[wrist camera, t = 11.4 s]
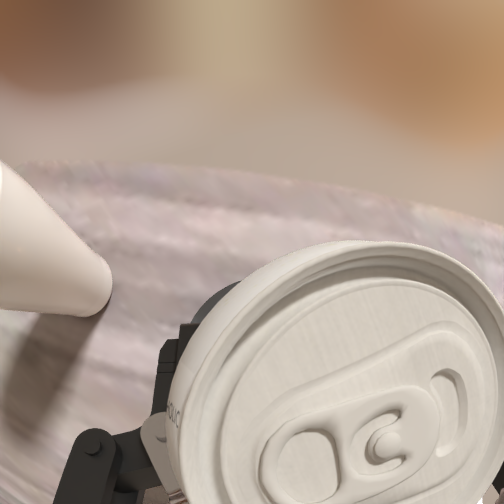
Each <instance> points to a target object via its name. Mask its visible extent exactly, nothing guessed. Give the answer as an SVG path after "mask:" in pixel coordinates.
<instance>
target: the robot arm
mask: <svg viewBox="0 0 504 504" xmlns="http://www.w3.org/2000/svg"><path fill="white" fill-rule="evenodd" d="M200 324H201V323H190V324H181V325H180V332H179V339H167V341H166V342H165V344H164V345H163V347H162V348H161V350H160V353H159V360H158V367H157V375H156V381H155V388H154V396H153V404H152V411H151V415H150V417H149V418H148V419H146V420H145V422H144V423H143V425H142V426H141V427H139V428H138V429H136V430H133V431H130V432H126V433H122V434H117V435H113V436H111V435H110V434H109V433H108V432H107V431H105V430H102V429H98V428H93V429H88V430H86V431H84V432H82V433H81V434H80V435H79V436H78V437H77V438H76V440H75V442H74V444H73V447H72V450H71V452H70V455H69V458H68V460H67V463H66V466H65V469H64V471H63V474H62V477H61V480H60V483H59V486H58V489H57V492H56V495H55V498H54V501H53V504H142V502H143V498H144V493H145V489H148V488H152V487H156V486H160V485H163V486H164V488H165V490H166V492H167V494H168V496H169V502H170V504H189V502H188V500H187V499H186V497H185V495H184V493H183V491H182V490H181V488H180V486H179V484H178V482H177V479H176V477H175V474H174V471H173V469H172V466H171V462H170V457H169V453H168V448H167V438H166V413H167V402H168V397H169V393H170V388H171V383H172V380H173V377H174V374H175V371H176V369H177V366H178V363H179V360H180V358H181V356H182V354H183V352H184V350H185V348H186V346H187V344H188V342H189V340H190V339H191V337H192V336H193V334H194V333H195V331H196V330H197V328H198V327H199V325H200ZM492 484H493V486H494V487H495V489H496V490H497V492H498V493H499V499H497V501H496V502H495V504H504V461H503V463H502V465H501V467H500V469H499V471H498V473H497V475H496V477H495V478H494V480H493V482H492ZM478 504H482V498H481V500H480V501H479V502H478Z"/></svg>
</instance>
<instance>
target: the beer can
mask: <svg viewBox="0 0 504 504" xmlns="http://www.w3.org/2000/svg"><path fill="white" fill-rule="evenodd" d="M166 438H167V448H168V453H169V457H170V462H171V466H172V469H173V471H174V474H175V477H176V479H177V482H178V484H179V486H180V488H181V490H182V491H183V493H184V495H185V497H186V499H187V500H188V502H189V504H478V502H479V501H480V500H481V498H482V497H483V496H484V494H485V493H486V491H487V490H488V488H489V487H490V485H491V484H492V482H493V480H494V478H495V477H496V475H497V473H498V471H499V469H500V467H501V465H502V463H503V461H504V311H503V309H502V307H501V305H500V304H499V302H498V300H497V299H496V297H495V296H494V294H493V293H492V292H491V291H490V289H489V288H488V287H487V286H486V284H485V283H484V282H483V281H482V280H481V279H480V278H479V277H478V276H477V275H476V274H475V273H473V272H472V271H471V270H470V269H468V268H467V267H466V266H464V265H463V264H462V263H460V262H459V261H457V260H455V259H453V258H452V257H450V256H448V255H446V254H444V253H442V252H439V251H436V250H434V249H431V248H428V247H425V246H420V245H416V244H411V243H403V242H390V241H388V242H373V241H359V240H350V241H335V242H329V243H323V244H317V245H313V246H310V247H307V248H303V249H300V250H297V251H294V252H292V253H289V254H287V255H285V256H282V257H280V258H278V259H275V260H274V261H272V262H270V263H268V264H267V265H265V266H263V267H261V268H260V269H258V270H256V271H255V272H253V273H252V274H251V275H249V276H248V277H246V278H245V279H244V280H242V281H241V282H240V283H238V284H237V285H236V286H235V287H234V288H233V289H231V290H230V291H229V292H228V293H227V294H226V295H225V296H224V297H223V298H222V299H221V300H220V301H219V302H218V303H217V304H216V305H215V306H214V307H213V309H212V310H211V311H210V312H209V313H208V315H207V316H206V317H205V318H204V319H203V321H202V322H201V324H200V325H199V327H198V328H197V330H196V331H195V333H194V334H193V336H192V337H191V339H190V340H189V342H188V344H187V346H186V348H185V350H184V352H183V354H182V356H181V358H180V360H179V363H178V366H177V369H176V371H175V374H174V377H173V380H172V383H171V388H170V393H169V397H168V402H167V413H166Z"/></svg>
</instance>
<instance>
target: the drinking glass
mask: <svg viewBox="0 0 504 504" xmlns="http://www.w3.org/2000/svg"><path fill="white" fill-rule="evenodd" d="M112 286H113V279H112V273H111V270H110V268H109V266H108V264H107V262H106V261H105V260H104V259H103V258H102V257H101V256H100V255H98V254H97V253H96V252H94V251H93V250H92V249H91V248H90V247H89V246H88V245H87V244H86V243H85V242H84V241H83V240H82V239H81V238H80V237H79V236H78V235H77V234H76V233H75V232H74V231H73V230H72V229H71V228H70V227H69V226H68V225H67V224H66V223H65V222H64V221H63V219H62V218H61V217H60V216H59V215H58V214H57V213H56V212H55V211H54V210H53V208H52V207H51V206H50V205H49V204H48V203H47V202H46V201H45V200H44V199H43V198H42V197H41V196H40V195H39V193H38V192H37V191H36V190H35V189H34V188H33V187H32V186H31V185H30V184H28V183H27V182H26V181H25V180H24V179H23V178H22V177H21V176H20V175H19V174H18V173H16V172H15V171H14V170H13V169H12V168H10V167H9V166H8V165H7V164H6V163H4V162H3V161H2V160H1V159H0V309H1V310H10V311H22V312H36V313H50V314H64V315H73V316H77V317H88V316H92V315H94V314H96V313H98V312H99V311H100V310H101V309H102V308H103V307H104V306H105V305H106V303H107V302H108V300H109V298H110V295H111V292H112Z"/></svg>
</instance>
